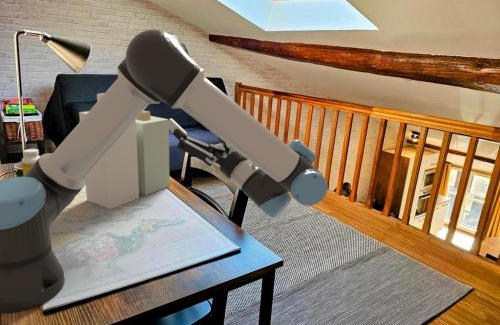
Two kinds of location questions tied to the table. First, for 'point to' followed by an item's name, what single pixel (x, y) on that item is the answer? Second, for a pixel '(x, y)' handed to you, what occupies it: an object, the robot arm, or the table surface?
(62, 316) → the table surface
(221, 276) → the table surface
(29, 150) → the supplement bottle
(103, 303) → the table surface
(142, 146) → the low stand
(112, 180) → the tall stand
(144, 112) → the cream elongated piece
